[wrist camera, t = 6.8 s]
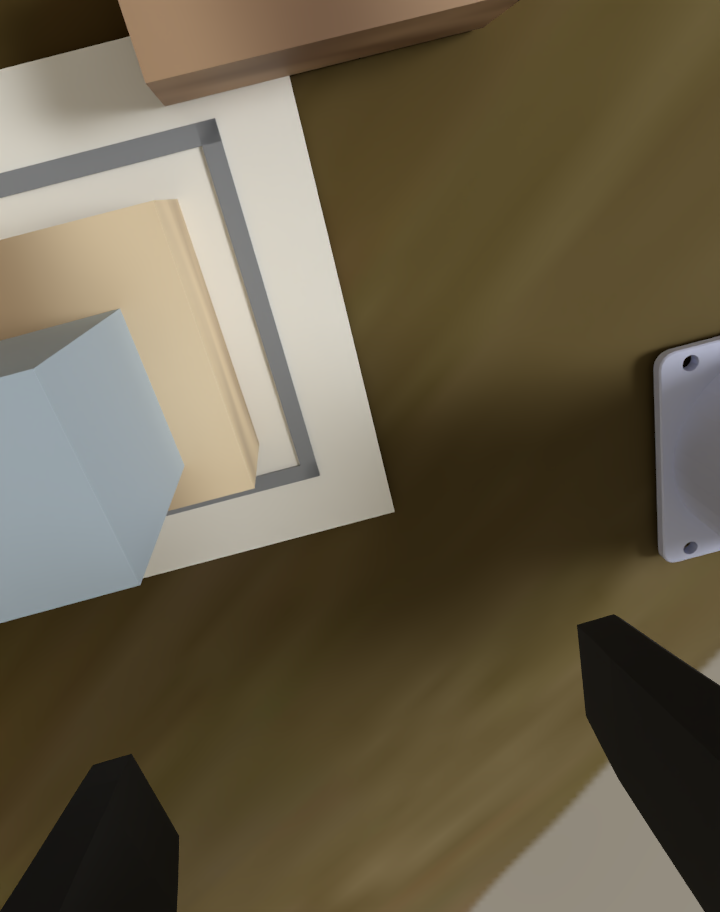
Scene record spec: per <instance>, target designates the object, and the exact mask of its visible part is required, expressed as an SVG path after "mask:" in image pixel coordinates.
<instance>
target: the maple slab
mask: <svg viewBox="0 0 720 912" xmlns="http://www.w3.org/2000/svg"><path fill="white" fill-rule="evenodd" d="M116 309H120V310H121V312H122V314H123V317H124V319H125V322H126V324H127V327H128V329H129V331H130V334H131V336H132V339H133V341H134V344H135V346H136V349H137V351H138V353H139V356H140V358H141V361H142V363H143V366H144V368H145V370H146V373H147V375H148V378H149V380H150V383H151V385H152V388H153V390H154V392H155V395H156V397H157V400H158V402H159V405H160V407H161V409H162V412H163V414H164V417H165V419H166V422H167V424H168V426H169V429H170V431H171V434H172V436H173V439H174V441H175V444H176V446H177V448H178V451H179V453H180V456H181V458H182V461H183V463H184V465H185V466H184V469H183V471H182V474H181V477H180V480H179V482H178V485H177V488H176V490H175V493H174V496H173V498H172V501H171V504H170V507H169V509H168V511H170V510H174V509H178V508H182V507H186V506H189V505H193V504H197V503H201V502H205V501H208V500H212V499H216V498H220V497H224V496H228V495H231V494H235V493H239V492H243V491H247V490H250V489H254V488H255V480H256V471H257V461H258V452H259V441H258V438H257V435H256V432H255V429H254V426H253V424H252V421H251V418H250V415H249V412H248V409H247V406H246V403H245V400H244V397H243V394H242V391H241V388H240V385H239V382H238V379H237V376H236V373H235V370H234V367H233V364H232V361H231V358H230V355H229V352H228V349H227V346H226V343H225V340H224V337H223V334H222V331H221V328H220V325H219V322H218V319H217V316H216V313H215V310H214V307H213V304H212V301H211V298H210V295H209V292H208V289H207V286H206V283H205V280H204V277H203V274H202V271H201V268H200V265H199V262H198V259H197V256H196V253H195V250H194V247H193V244H192V241H191V238H190V235H189V232H188V229H187V226H186V223H185V220H184V217H183V214H182V211H181V208H180V205H179V202H178V199H168V200H153V201H149V202H145V203H141V204H138V205H134V206H130V207H126V208H122V209H118V210H114V211H110V212H107V213H103V214H99V215H95V216H91V217H87V218H83V219H79V220H76V221H72V222H68V223H64V224H60V225H56V226H52V227H48V228H45V229H41V230H37V231H33V232H29V233H25V234H21V235H17V236H14V237H10V238H6V239H2V240H0V341H1V340H5V339H9V338H12V337H16V336H20V335H23V334H27V333H31V332H34V331H38V330H42V329H46V328H49V327H53V326H57V325H60V324H64V323H68V322H72V321H75V320H79V319H83V318H86V317H90V316H94V315H97V314H101V313H105V312H109V311H112V310H116Z"/></svg>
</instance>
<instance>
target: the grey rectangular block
mask: <svg viewBox="0 0 720 912" xmlns="http://www.w3.org/2000/svg"><path fill="white" fill-rule="evenodd" d="M184 466H185V465H184V463H183V461H182V458H181V456H180V453H179V451H178V448H177V446H176V444H175V441H174V439H173V436H172V434H171V431H170V429H169V426H168V424H167V422H166V419H165V417H164V414H163V412H162V409H161V407H160V405H159V402H158V400H157V397H156V395H155V392H154V390H153V388H152V385H151V383H150V380H149V378H148V375H147V373H146V370H145V368H144V366H143V363H142V361H141V358H140V356H139V353H138V351H137V349H136V346H135V344H134V341H133V339H132V336H131V334H130V331H129V329H128V327H127V324H126V322H125V319H124V317H123V314H122V312H121V310H120V309H116V310H112V311H109V312H105V313H101V314H97V315H94V316H90V317H86V318H83V319H79V320H75V321H72V322H68V323H64V324H60V325H57V326H53V327H49V328H46V329H42V330H38V331H34V332H31V333H27V334H23V335H20V336H16V337H12V338H9V339H5V340H1V341H0V623H3V622H7V621H10V620H14V619H18V618H21V617H25V616H29V615H32V614H36V613H40V612H43V611H47V610H51V609H54V608H58V607H62V606H65V605H69V604H73V603H76V602H80V601H84V600H87V599H91V598H95V597H98V596H102V595H106V594H109V593H113V592H117V591H120V590H124V589H128V588H132V587H135V586H139V585H141V582H142V579H143V577H144V574H145V571H146V569H147V566H148V563H149V560H150V558H151V555H152V552H153V550H154V547H155V544H156V542H157V539H158V536H159V533H160V531H161V528H162V525H163V523H164V520H165V517H166V515H167V512H168V509H169V507H170V504H171V501H172V498H173V496H174V493H175V490H176V488H177V485H178V482H179V480H180V477H181V474H182V471H183V469H184Z"/></svg>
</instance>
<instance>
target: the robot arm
mask: <svg viewBox="0 0 720 912" xmlns="http://www.w3.org/2000/svg"><path fill="white" fill-rule="evenodd" d="M690 355H691V361H690V363H689V364H688V365H687V366H686V367H684V368H683V366H682V365H683V361H684V360H685V359H686V357H688V356H690ZM653 372H654V410H655V448H656V486H657V523H658V551H659V554H660V555H661V556H662V557H663V558H664V559H665V560H666V561H668V562H678V561H682V560H686V559H690V558H693V557H697V556H701V555H705V554H708V553H712V552H716V551H720V336H717V337H713V338H709V339H706V340H702V341H698V342H694V343H690V344H687V345H683V346H679V347H675V348H671V349H668V350H666V351H664V352H662V353H661V354H660V355H659V356H658V357H657V359H656V360H655V362H654V368H653ZM689 542H690V544H689V545H688V546H687V547H685V548H684V546H685V545H686V544H687V543H689ZM577 629H578V639H579V649H580V659H581V669H582V679H583V690H584V700H585V710H586V717H587V719H588V721H589V723H590V725H591V727H592V729H593V730H594V732H595V734H596V736H597V738H598V740H599V742H600V744H601V746H602V748H603V750H604V752H605V754H606V756H607V758H608V760H609V762H610V764H611V766H612V767H613V769H614V771H615V773H616V775H617V777H618V779H619V780H620V782H621V784H622V785H623V787H624V788H625V790H626V791H627V793H628V795H629V796H630V798H631V799H632V801H633V802H634V804H635V806H636V807H637V809H638V810H639V812H640V813H641V815H642V816H643V818H644V819H645V821H646V823H647V824H648V826H649V827H650V829H651V830H652V832H653V833H654V835H655V836H656V838H657V839H658V841H659V842H660V844H661V845H662V847H663V849H664V850H665V852H666V853H667V855H668V856H669V858H670V859H671V861H672V862H673V864H674V865H675V867H676V869H677V870H678V872H679V873H680V875H681V876H682V877H683V879H684V881H685V882H686V884H687V885H688V887H689V888H690V890H691V891H692V893H693V894H694V896H695V897H696V899H697V900H698V902H699V904H700V905H701V907H702V908H703V910H704V911H705V912H720V685H718V684H717V683H715V682H714V681H712V680H711V679H709V678H708V677H706V676H705V675H703V674H702V673H700V672H699V671H697V670H696V669H694V668H693V667H691V666H690V665H688V664H687V663H685V662H684V661H682V660H681V659H679V658H678V657H676V656H675V655H673V654H672V653H670V652H669V651H667V650H666V649H665V648H663V647H662V646H660V645H659V644H657V643H656V642H654V641H653V640H651V639H650V638H649V637H647V636H646V635H644V634H643V633H641V632H640V631H638V630H637V629H636V628H634V627H633V626H631V625H630V624H628V623H627V622H625V621H624V620H622V619H621V618H619V617H618V616H616V615H614V614H613V615H610V616H606V617H603V618H599V619H596V620H593V621H589V622H586V623H582V624H579V625H577ZM178 861H179V835H178V833H177V832H176V830H175V828H174V826H173V825H172V823H171V821H170V819H169V818H168V816H167V814H166V813H165V811H164V809H163V807H162V806H161V804H160V802H159V800H158V799H157V797H156V795H155V793H154V792H153V790H152V788H151V787H150V785H149V783H148V781H147V780H146V778H145V776H144V774H143V773H142V771H141V769H140V768H139V766H138V764H137V762H136V761H135V759H134V757H133V755H132V754H130V755H126V756H123V757H119V758H116V759H112V760H109V761H105V762H102V763H99V764H95V765H93V766H92V768H91V769H90V771H89V772H88V774H87V775H86V777H85V778H84V780H83V781H82V783H81V785H80V786H79V788H78V789H77V791H76V792H75V794H74V796H73V797H72V799H71V800H70V802H69V804H68V805H67V807H66V808H65V810H64V812H63V813H62V815H61V816H60V818H59V820H58V821H57V823H56V824H55V826H54V828H53V829H52V831H51V832H50V834H49V836H48V837H47V839H46V840H45V842H44V844H43V845H42V847H41V848H40V850H39V851H38V853H37V855H36V856H35V858H34V859H33V861H32V863H31V864H30V866H29V867H28V869H27V871H26V872H25V874H24V875H23V877H22V878H21V880H20V881H19V883H18V885H17V886H16V888H15V889H14V891H13V892H12V894H11V895H10V897H9V898H8V900H7V902H6V903H5V905H4V906H3V908H2V909H1V911H0V912H177V892H178Z"/></svg>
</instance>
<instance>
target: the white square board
mask: <svg viewBox="0 0 720 912" xmlns="http://www.w3.org/2000/svg"><path fill="white" fill-rule="evenodd" d="M168 199H178V202H179V205H180V208H181V211H182V214H183V217H184V220H185V223H186V226H187V229H188V232H189V235H190V238H191V241H192V244H193V247H194V250H195V253H196V256H197V259H198V262H199V265H200V268H201V271H202V274H203V277H204V280H205V283H206V286H207V289H208V292H209V295H210V298H211V301H212V304H213V307H214V310H215V313H216V316H217V319H218V322H219V325H220V328H221V331H222V334H223V337H224V340H225V343H226V346H227V349H228V352H229V355H230V358H231V361H232V364H233V367H234V370H235V373H236V376H237V379H238V382H239V385H240V388H241V391H242V394H243V397H244V400H245V403H246V406H247V409H248V412H249V415H250V418H251V421H252V424H253V426H254V429H255V432H256V435H257V438H258V441H259V452H258V461H257V471H256V480H255V488H254V489H250V490H247V491H243V492H239V493H235V494H231V495H228V496H224V497H220V498H216V499H212V500H208V501H205V502H201V503H197V504H193V505H189V506H186V507H182V508H178V509H174V510H170V511H168V512H167V515H166V517H165V520H164V523H163V525H162V528H161V531H160V533H159V536H158V539H157V542H156V544H155V547H154V550H153V552H152V555H151V558H150V560H149V563H148V566H147V569H146V571H145V574H144V577H143V578H146V577H150V576H153V575H157V574H161V573H165V572H169V571H172V570H176V569H180V568H184V567H188V566H191V565H195V564H199V563H203V562H207V561H210V560H214V559H218V558H222V557H226V556H229V555H233V554H237V553H241V552H245V551H248V550H252V549H256V548H260V547H263V546H267V545H271V544H275V543H279V542H282V541H286V540H290V539H294V538H298V537H301V536H305V535H309V534H313V533H317V532H320V531H324V530H328V529H332V528H336V527H339V526H343V525H347V524H351V523H355V522H358V521H362V520H366V519H370V518H374V517H377V516H381V515H385V514H389V513H392V512H395V511H394V507H393V503H392V499H391V494H390V490H389V486H388V482H387V478H386V474H385V470H384V466H383V461H382V457H381V453H380V449H379V445H378V441H377V437H376V432H375V428H374V424H373V420H372V416H371V412H370V408H369V404H368V399H367V395H366V391H365V387H364V383H363V379H362V375H361V370H360V366H359V362H358V358H357V354H356V350H355V346H354V342H353V337H352V333H351V329H350V325H349V321H348V317H347V313H346V308H345V304H344V300H343V296H342V292H341V288H340V284H339V280H338V275H337V271H336V267H335V263H334V259H333V255H332V251H331V246H330V242H329V238H328V234H327V230H326V226H325V222H324V218H323V213H322V209H321V205H320V201H319V197H318V193H317V189H316V184H315V180H314V176H313V172H312V168H311V164H310V160H309V156H308V151H307V147H306V143H305V139H304V135H303V131H302V127H301V122H300V118H299V114H298V110H297V106H296V102H295V98H294V94H293V89H292V85H291V81H290V77H289V76H285V77H281V78H277V79H273V80H269V81H265V82H261V83H257V84H253V85H249V86H245V87H241V88H237V89H233V90H229V91H225V92H221V93H217V94H213V95H209V96H205V97H201V98H197V99H193V100H189V101H185V102H181V103H177V104H172V105H168V106H164V105H163V104H162V102H161V101H160V100H159V99H158V98H157V96H156V95H155V94H154V93H153V92H152V90H151V89H150V88H149V87H148V86H147V85H146V83H145V80H144V77H143V74H142V71H141V68H140V65H139V62H138V59H137V56H136V53H135V50H134V47H133V44H132V41H131V38H130V36H129V37H125V38H121V39H117V40H113V41H109V42H105V43H102V44H98V45H94V46H90V47H86V48H82V49H78V50H74V51H70V52H66V53H62V54H59V55H55V56H51V57H47V58H43V59H39V60H35V61H31V62H27V63H23V64H19V65H16V66H12V67H8V68H4V69H0V240H2V239H6V238H10V237H14V236H17V235H21V234H25V233H29V232H33V231H37V230H41V229H45V228H48V227H52V226H56V225H60V224H64V223H68V222H72V221H76V220H79V219H83V218H87V217H91V216H95V215H99V214H103V213H107V212H110V211H114V210H118V209H122V208H126V207H130V206H134V205H138V204H141V203H145V202H149V201H153V200H168Z"/></svg>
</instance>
